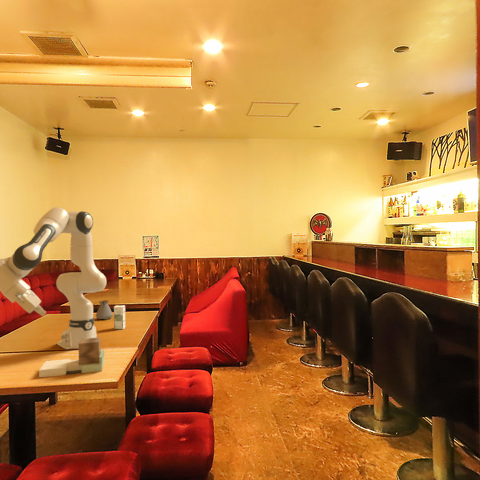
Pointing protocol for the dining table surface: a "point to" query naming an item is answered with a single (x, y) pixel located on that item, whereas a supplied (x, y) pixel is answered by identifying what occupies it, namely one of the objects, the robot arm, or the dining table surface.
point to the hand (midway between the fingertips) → (44, 314)
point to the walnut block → (89, 351)
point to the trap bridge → (69, 367)
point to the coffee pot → (104, 310)
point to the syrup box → (119, 317)
